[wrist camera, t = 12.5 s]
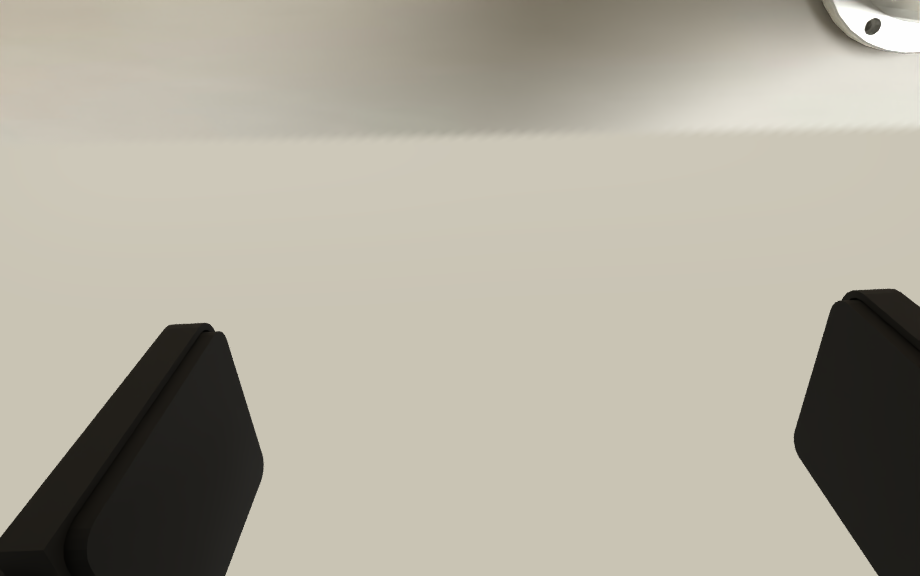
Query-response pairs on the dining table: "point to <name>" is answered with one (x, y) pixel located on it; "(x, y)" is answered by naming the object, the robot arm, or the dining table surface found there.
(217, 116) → the dining table surface
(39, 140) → the dining table surface
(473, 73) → the dining table surface
